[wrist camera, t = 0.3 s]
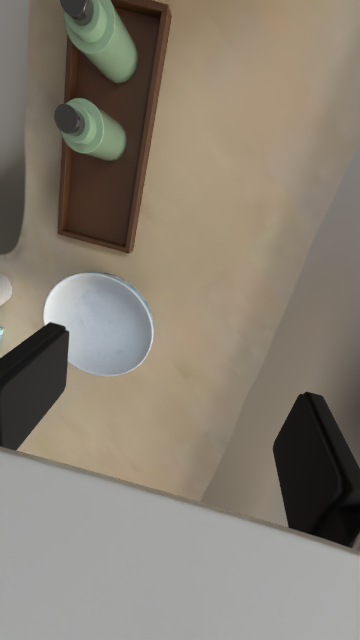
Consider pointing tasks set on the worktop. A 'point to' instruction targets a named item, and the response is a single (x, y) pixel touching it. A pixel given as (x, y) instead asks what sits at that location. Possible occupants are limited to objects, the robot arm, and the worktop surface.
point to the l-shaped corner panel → (1, 333)
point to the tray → (137, 121)
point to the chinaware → (101, 322)
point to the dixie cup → (5, 289)
